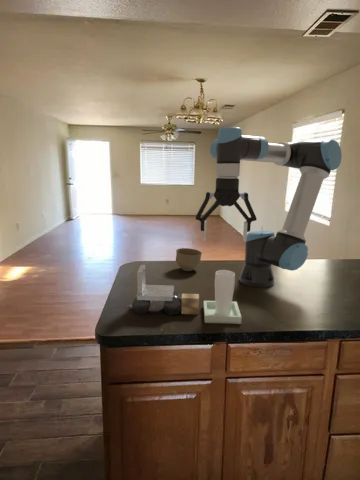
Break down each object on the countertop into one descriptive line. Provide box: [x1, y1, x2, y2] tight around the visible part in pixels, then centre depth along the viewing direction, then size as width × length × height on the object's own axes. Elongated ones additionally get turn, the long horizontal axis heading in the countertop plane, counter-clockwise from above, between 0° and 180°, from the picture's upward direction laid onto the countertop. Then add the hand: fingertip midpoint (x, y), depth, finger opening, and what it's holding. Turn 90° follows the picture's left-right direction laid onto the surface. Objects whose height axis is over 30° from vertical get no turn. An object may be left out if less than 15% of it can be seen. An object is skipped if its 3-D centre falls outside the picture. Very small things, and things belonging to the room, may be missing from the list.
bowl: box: [175, 247, 203, 272], centre depth 155 cm, size 13×13×10 cm
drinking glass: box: [214, 269, 236, 315], centre depth 108 cm, size 7×7×15 cm
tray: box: [202, 300, 243, 325], centre depth 110 cm, size 12×12×2 cm
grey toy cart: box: [131, 264, 182, 316], centre depth 111 cm, size 17×10×16 cm, turn 88°
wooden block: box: [180, 293, 200, 315], centre depth 112 cm, size 6×4×6 cm, turn 88°
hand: (224, 240), depth 108 cm, fingers open, 13 cm apart
